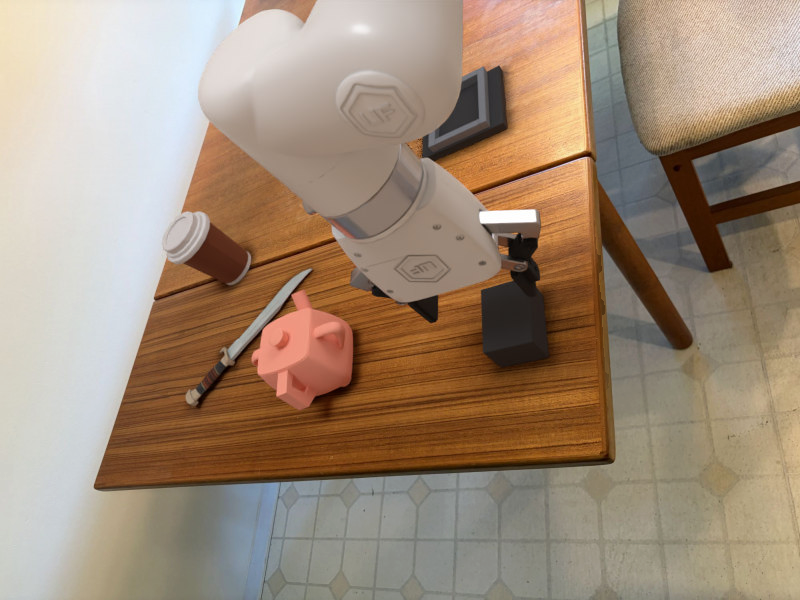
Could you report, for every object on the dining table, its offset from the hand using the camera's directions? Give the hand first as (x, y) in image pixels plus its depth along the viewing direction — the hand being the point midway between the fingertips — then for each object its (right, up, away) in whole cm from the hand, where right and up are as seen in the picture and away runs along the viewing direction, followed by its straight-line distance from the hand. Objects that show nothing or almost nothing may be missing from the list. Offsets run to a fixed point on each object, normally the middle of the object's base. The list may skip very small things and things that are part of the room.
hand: (481, 296), depth 50 cm
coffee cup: (-34, +5, +42) cm, 55 cm away
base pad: (+1, +24, +25) cm, 35 cm away
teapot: (-16, -8, +19) cm, 26 cm away
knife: (-29, -5, +32) cm, 44 cm away
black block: (+5, -3, +5) cm, 8 cm away
